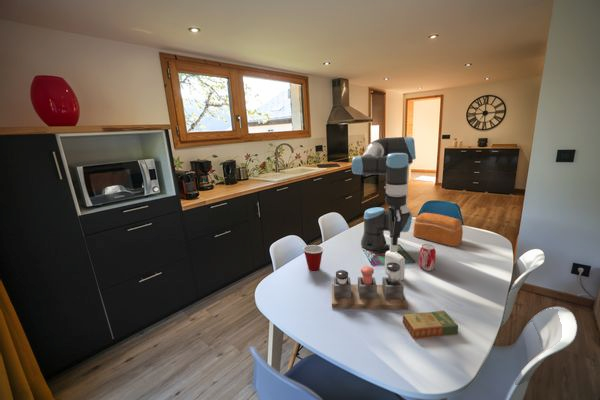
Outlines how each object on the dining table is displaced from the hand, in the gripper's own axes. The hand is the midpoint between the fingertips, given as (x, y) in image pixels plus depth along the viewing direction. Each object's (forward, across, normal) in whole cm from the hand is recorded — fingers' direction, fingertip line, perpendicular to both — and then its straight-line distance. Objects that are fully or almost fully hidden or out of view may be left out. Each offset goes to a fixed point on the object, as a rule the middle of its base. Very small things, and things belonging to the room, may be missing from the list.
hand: (393, 251), depth 106 cm
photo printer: (+22, -18, +5) cm, 29 cm away
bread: (+22, -63, +41) cm, 79 cm away
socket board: (+22, 0, -10) cm, 24 cm away
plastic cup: (+22, -24, -34) cm, 47 cm away
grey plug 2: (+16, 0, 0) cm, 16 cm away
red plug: (+18, 0, -10) cm, 20 cm away
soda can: (+22, -26, +23) cm, 41 cm away
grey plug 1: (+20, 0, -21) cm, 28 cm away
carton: (+23, +17, +10) cm, 30 cm away
